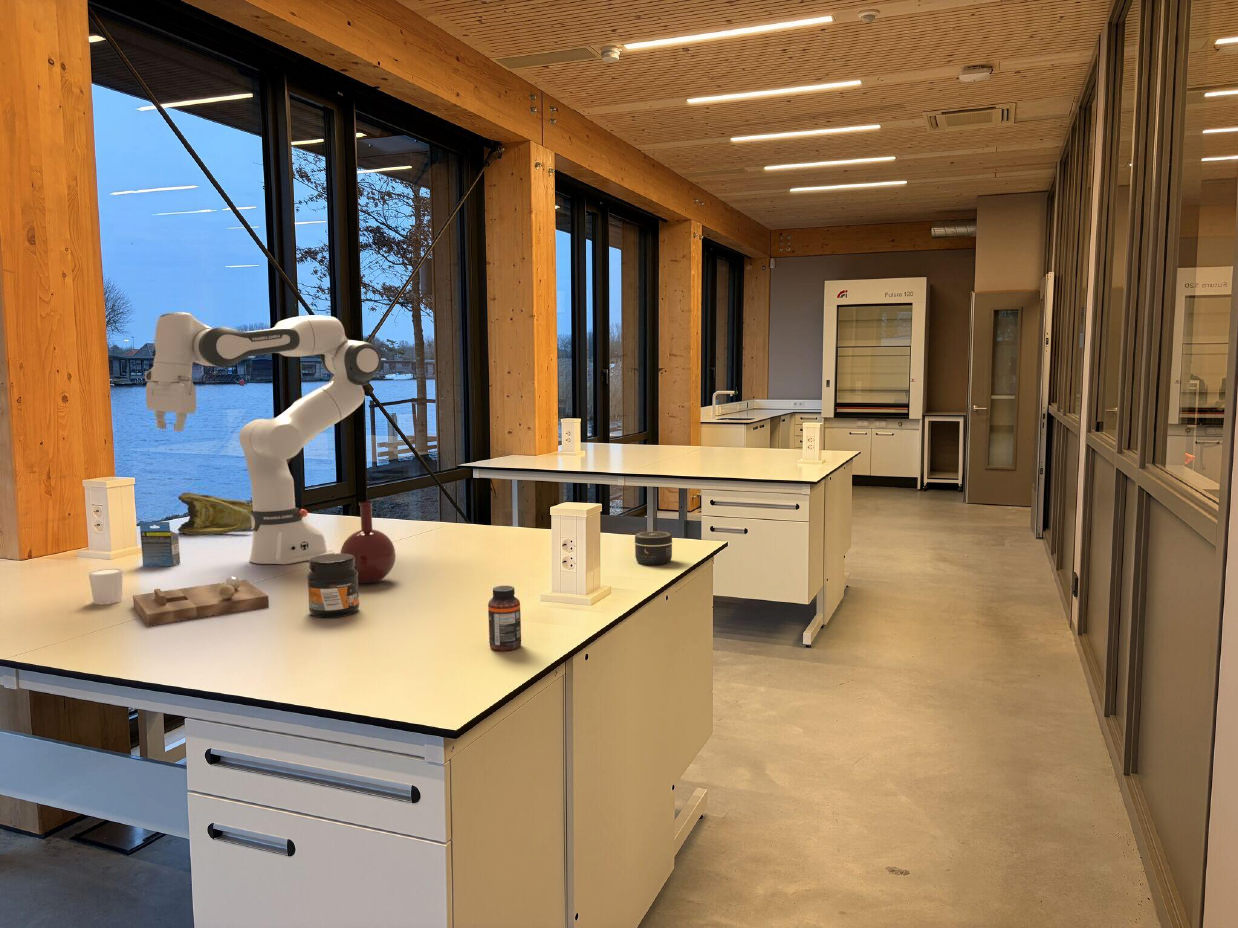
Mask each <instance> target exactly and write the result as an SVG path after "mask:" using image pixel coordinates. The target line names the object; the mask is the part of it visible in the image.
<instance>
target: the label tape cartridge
mask: <svg viewBox="0 0 1238 928" xmlns="http://www.w3.org/2000/svg"><path fill="white" fill-rule="evenodd" d="M154 526H156V527H154ZM152 527H153V528H152ZM158 527H159V528H158ZM139 529H140V532H139V533H140V543H141V546H140V547H141V554H142V555H141V556H142V566H143V567H174V565H175V566H177V565H176V564H178V565H180V564H181V558H180V557H181V555H180V554H181V553H180V542H179V541H180V539H179V534H178V533H177V532H174V531H171V526H170V521H139ZM179 563H180V564H179Z"/></svg>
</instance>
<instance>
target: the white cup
mask: <svg viewBox="0 0 1238 928" xmlns="http://www.w3.org/2000/svg"><path fill="white" fill-rule="evenodd" d="M123 574H124V571H123V569H121V568H106V569H99V570H95V571H91V572H89V573H88V579H89V584H90V585H89V586H90V590H91V595H92V600H93V604H94V605H97V604H99V606H100V605H103V604H105V605H111V604H112V605H113V604H116V603H119V602H121V601H123V577H124V575H123Z"/></svg>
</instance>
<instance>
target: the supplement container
mask: <svg viewBox="0 0 1238 928" xmlns="http://www.w3.org/2000/svg"><path fill="white" fill-rule="evenodd" d="M354 566H355V556H353V555H351V554H340V553H335V554H326V555H320V556H315V557H312V558H310V559H309V560H308V569H309V571H308V573H307V575H306V580H307V593H308V611H309V613H310V615H312V616H313V617H316V618H320V619H321V618H324V619H326V618H328V619H329V618H333V619H334V618H341V617H345V616H349V615H352V614H354V613H355V612H357V611H358V610H359V608H360V599H359V598H360V596H359V582H358V571H357V569H356V568H355V567H354Z"/></svg>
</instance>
